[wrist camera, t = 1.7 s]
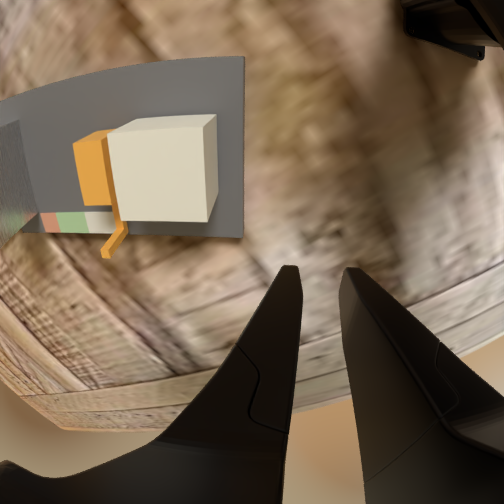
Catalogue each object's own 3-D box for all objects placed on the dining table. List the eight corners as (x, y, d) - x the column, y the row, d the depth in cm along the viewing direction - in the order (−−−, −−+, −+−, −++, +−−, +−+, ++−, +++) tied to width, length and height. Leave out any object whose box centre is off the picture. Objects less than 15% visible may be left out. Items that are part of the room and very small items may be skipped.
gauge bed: (245, 57, 16) (231, 50, 10) (243, 229, 23) (234, 296, 17) (2, 100, 17) (-60, 126, 11) (30, 225, 23) (-16, 272, 17)
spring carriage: (216, 114, 17) (202, 127, 13) (218, 192, 19) (207, 222, 16) (136, 118, 17) (107, 133, 14) (144, 192, 20) (121, 220, 16)
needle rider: (123, 127, 17) (96, 142, 14) (138, 230, 21) (119, 258, 18) (96, 131, 17) (68, 146, 14) (114, 230, 21) (93, 257, 19)
